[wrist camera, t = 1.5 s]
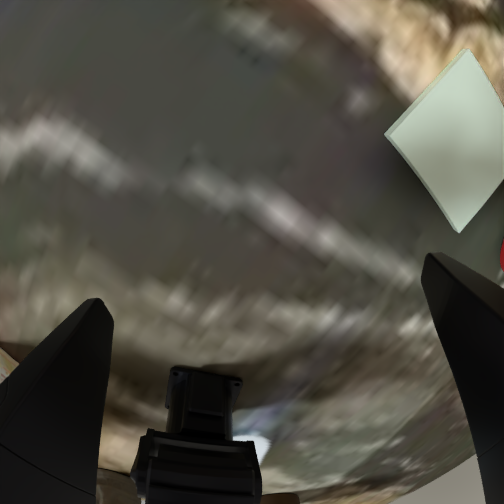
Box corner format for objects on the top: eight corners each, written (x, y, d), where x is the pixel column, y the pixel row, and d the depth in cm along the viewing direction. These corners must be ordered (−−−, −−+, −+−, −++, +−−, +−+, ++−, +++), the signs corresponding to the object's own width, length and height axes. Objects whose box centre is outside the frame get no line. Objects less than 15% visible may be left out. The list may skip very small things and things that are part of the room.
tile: (453, 228, 21) (459, 233, 20) (383, 134, 18) (389, 135, 17) (517, 148, 18) (523, 151, 17) (462, 49, 15) (468, 48, 14)
